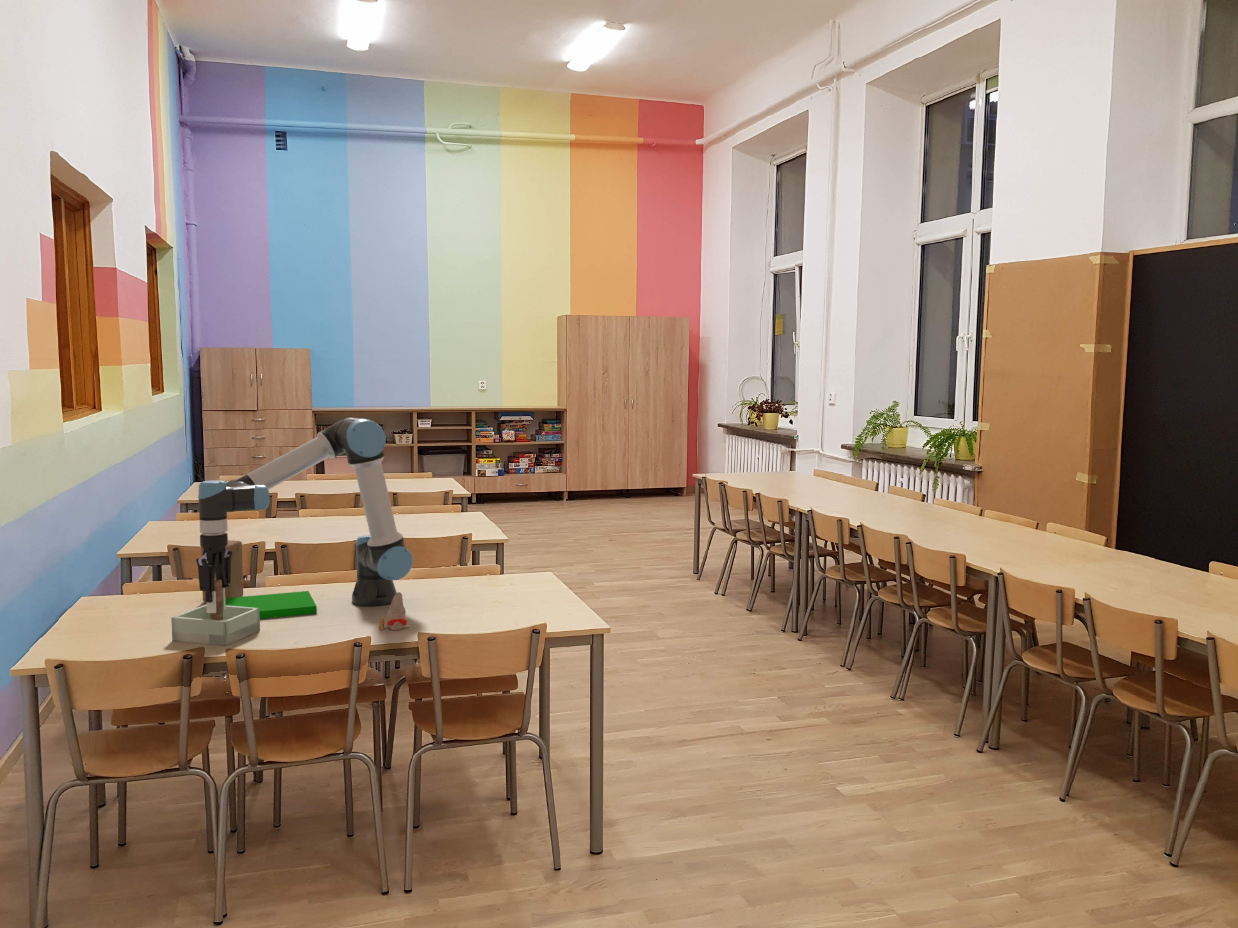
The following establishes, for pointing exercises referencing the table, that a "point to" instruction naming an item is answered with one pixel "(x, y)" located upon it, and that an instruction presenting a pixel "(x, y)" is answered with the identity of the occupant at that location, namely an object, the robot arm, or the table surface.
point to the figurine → (395, 614)
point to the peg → (218, 601)
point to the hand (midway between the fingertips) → (216, 610)
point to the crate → (215, 625)
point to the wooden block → (233, 570)
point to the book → (277, 604)
